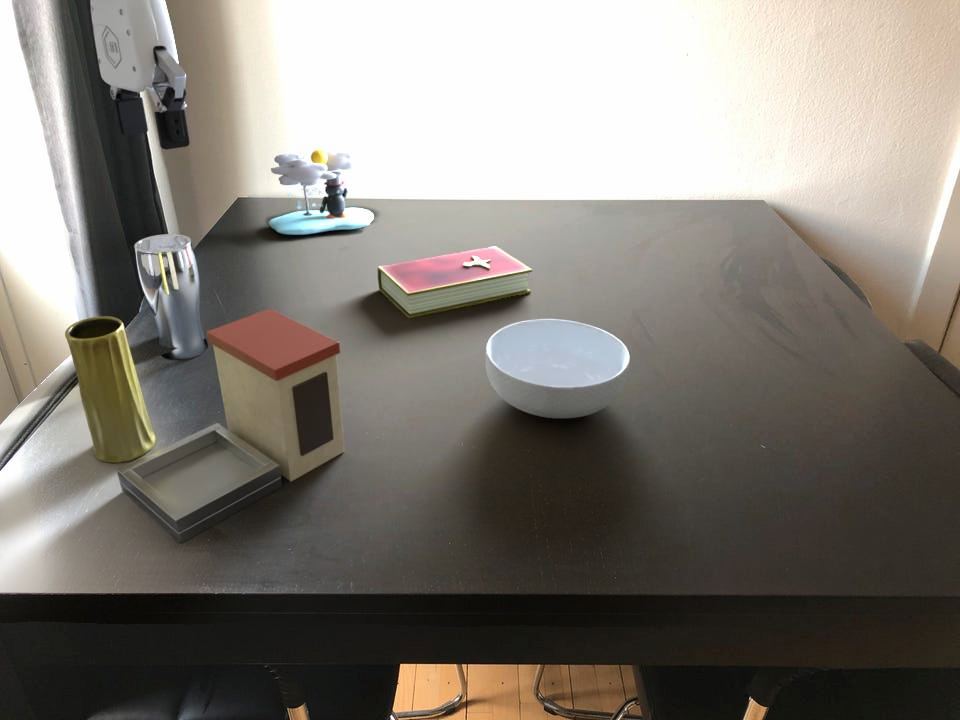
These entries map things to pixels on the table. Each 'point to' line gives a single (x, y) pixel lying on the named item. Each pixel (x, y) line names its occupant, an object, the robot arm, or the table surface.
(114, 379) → the vase
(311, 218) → the penguin figurine
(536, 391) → the cereal bowl
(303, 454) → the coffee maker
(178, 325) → the beer glass
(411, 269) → the hardcover book
